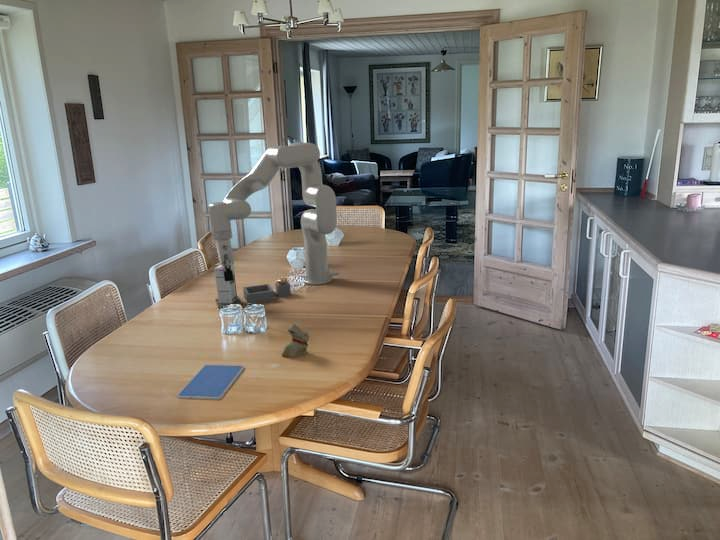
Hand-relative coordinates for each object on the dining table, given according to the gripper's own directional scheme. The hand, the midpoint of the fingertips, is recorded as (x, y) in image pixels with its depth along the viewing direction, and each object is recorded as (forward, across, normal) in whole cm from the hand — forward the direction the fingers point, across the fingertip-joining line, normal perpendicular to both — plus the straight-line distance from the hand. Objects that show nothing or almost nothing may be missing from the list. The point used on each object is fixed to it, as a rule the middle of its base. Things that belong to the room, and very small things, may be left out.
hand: (227, 277), depth 223 cm
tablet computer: (+10, -69, +14) cm, 71 cm away
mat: (+10, 0, +1) cm, 10 cm away
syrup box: (+10, 0, +1) cm, 10 cm away
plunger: (+10, 0, -21) cm, 23 cm away
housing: (+11, 0, -15) cm, 18 cm away
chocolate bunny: (+10, -60, -12) cm, 62 cm away
